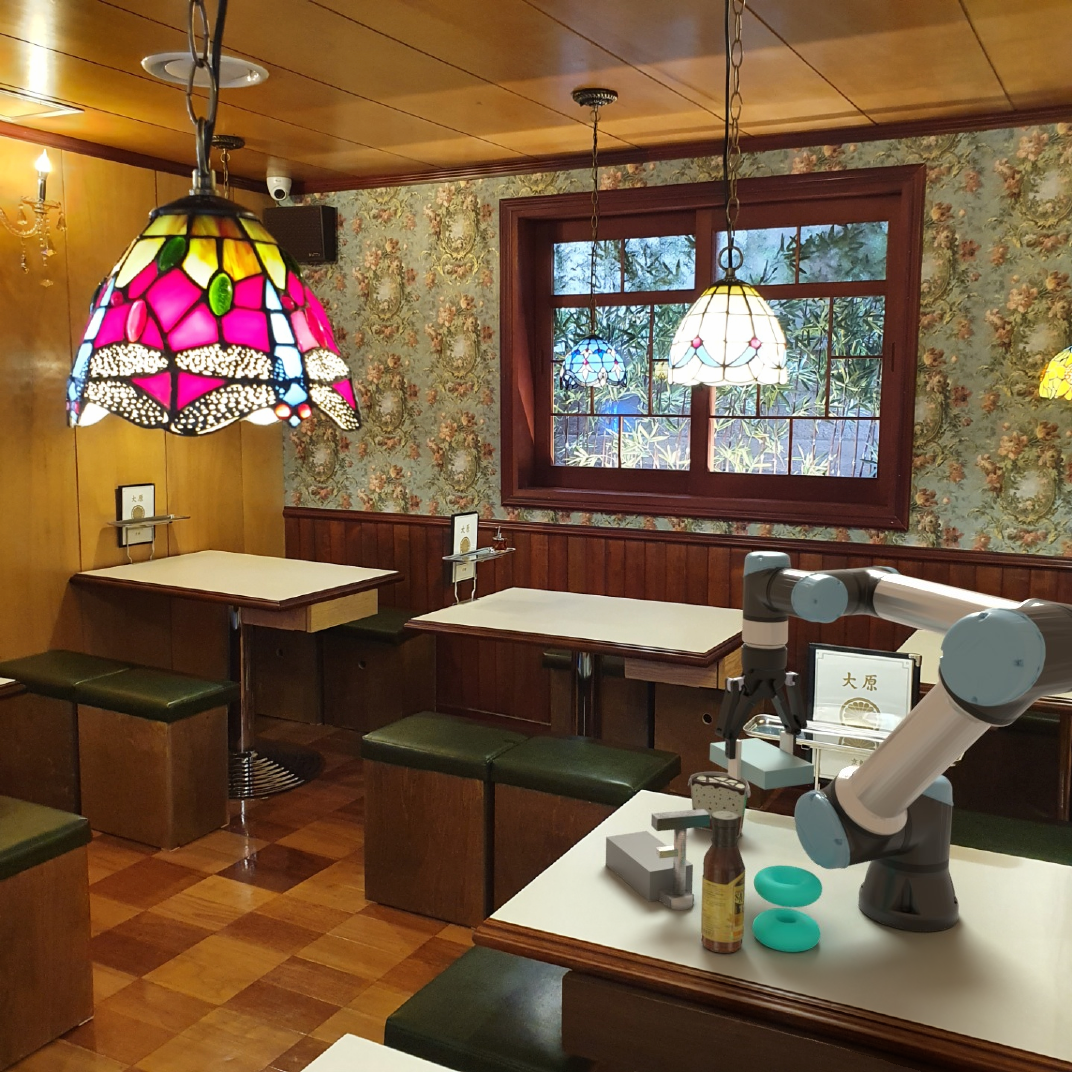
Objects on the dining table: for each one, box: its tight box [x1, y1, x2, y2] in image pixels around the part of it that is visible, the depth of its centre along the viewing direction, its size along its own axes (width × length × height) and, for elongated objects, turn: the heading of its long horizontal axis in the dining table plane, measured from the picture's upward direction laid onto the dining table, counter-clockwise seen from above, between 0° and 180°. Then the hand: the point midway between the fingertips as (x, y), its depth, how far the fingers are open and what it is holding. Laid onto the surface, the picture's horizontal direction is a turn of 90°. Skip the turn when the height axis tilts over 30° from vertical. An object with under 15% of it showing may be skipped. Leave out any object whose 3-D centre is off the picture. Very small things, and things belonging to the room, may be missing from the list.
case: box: [605, 830, 695, 911], centre depth 183 cm, size 21×8×5 cm, turn 23°
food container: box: [687, 771, 752, 838], centre depth 209 cm, size 12×6×10 cm, turn 58°
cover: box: [709, 737, 815, 791], centre depth 185 cm, size 17×10×3 cm, turn 23°
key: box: [650, 809, 710, 895], centre depth 175 cm, size 9×2×13 cm, turn 105°
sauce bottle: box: [700, 811, 746, 954], centre depth 161 cm, size 6×6×20 cm
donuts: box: [751, 864, 823, 953], centre depth 164 cm, size 10×10×10 cm
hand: (760, 773), depth 185 cm, fingers closed on cover, 10 cm apart
